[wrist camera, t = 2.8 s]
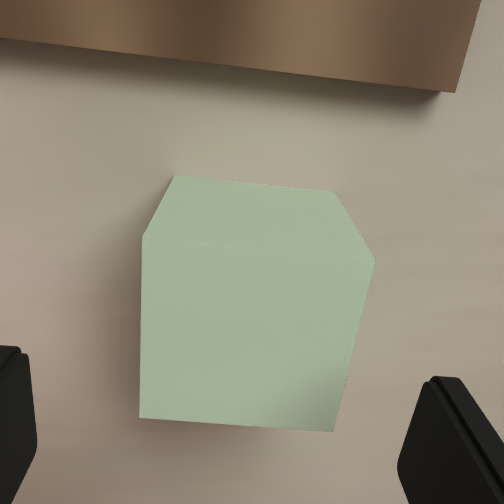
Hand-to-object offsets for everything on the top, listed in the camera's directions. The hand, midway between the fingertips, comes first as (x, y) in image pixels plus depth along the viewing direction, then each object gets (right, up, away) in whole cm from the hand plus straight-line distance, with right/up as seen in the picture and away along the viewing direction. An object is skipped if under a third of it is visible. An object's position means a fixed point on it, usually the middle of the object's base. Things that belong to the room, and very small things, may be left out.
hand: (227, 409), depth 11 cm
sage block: (0, +4, +7) cm, 8 cm away
